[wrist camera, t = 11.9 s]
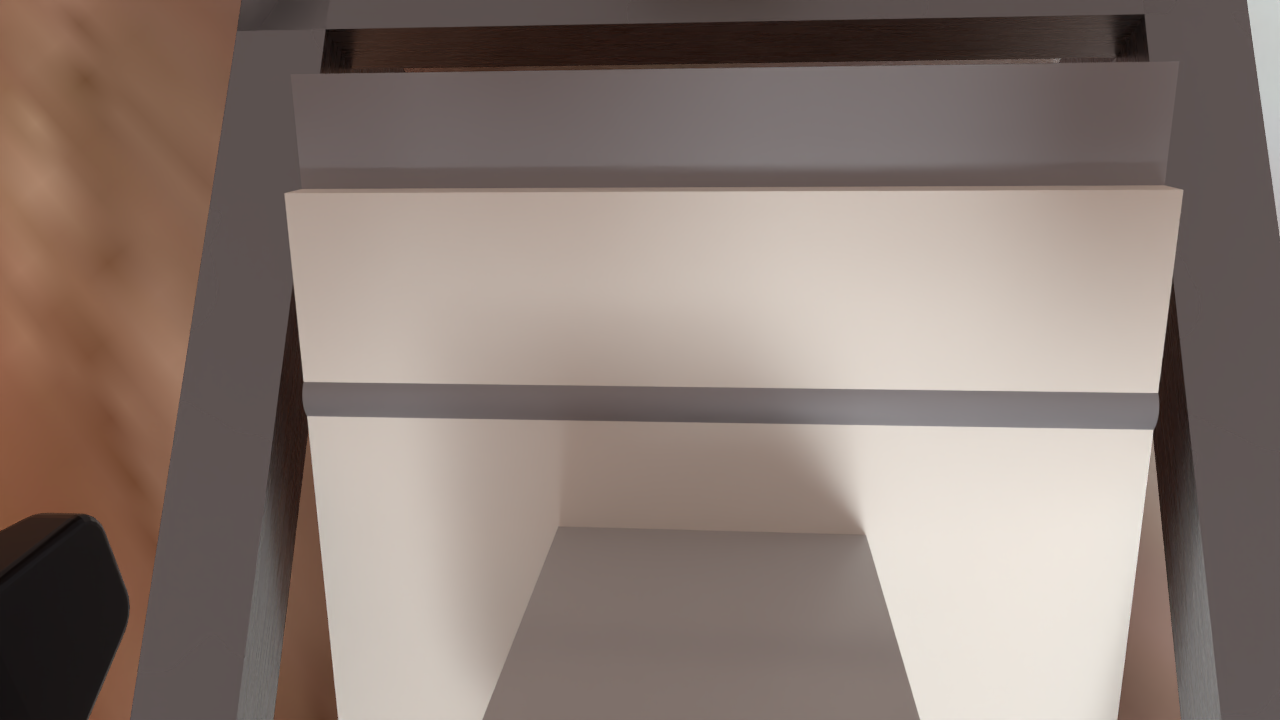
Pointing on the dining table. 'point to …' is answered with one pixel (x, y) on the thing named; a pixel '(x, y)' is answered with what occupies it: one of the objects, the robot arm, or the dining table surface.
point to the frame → (705, 34)
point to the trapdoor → (737, 350)
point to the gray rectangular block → (704, 630)
